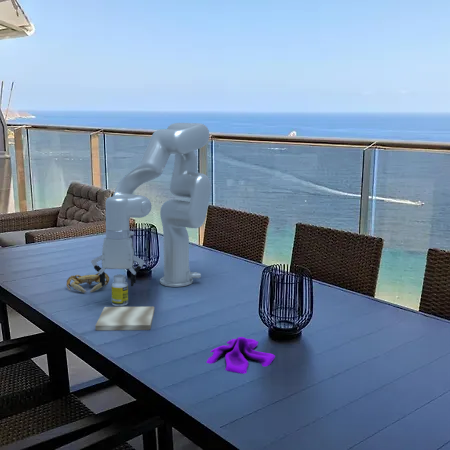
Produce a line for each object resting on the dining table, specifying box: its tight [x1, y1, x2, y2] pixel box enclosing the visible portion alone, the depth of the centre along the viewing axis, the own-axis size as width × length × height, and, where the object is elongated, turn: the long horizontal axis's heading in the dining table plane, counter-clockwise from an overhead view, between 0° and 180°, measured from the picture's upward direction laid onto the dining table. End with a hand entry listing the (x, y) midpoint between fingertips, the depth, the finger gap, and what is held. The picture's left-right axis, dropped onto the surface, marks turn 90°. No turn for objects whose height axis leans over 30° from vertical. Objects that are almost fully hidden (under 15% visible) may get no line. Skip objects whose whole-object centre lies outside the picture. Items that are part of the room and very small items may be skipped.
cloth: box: [205, 336, 276, 375], centre depth 141 cm, size 22×19×6 cm
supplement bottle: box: [111, 274, 129, 307], centre depth 180 cm, size 5×5×10 cm
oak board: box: [94, 306, 155, 331], centre depth 166 cm, size 16×16×2 cm
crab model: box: [66, 272, 110, 294], centre depth 197 cm, size 16×13×6 cm
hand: (117, 285), depth 179 cm, fingers open, 9 cm apart
